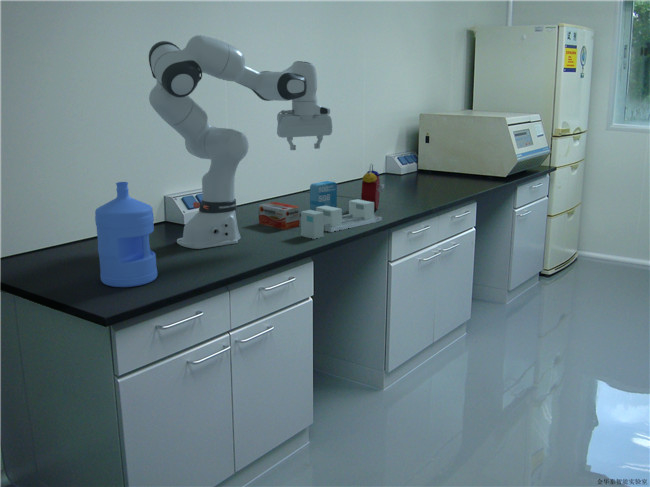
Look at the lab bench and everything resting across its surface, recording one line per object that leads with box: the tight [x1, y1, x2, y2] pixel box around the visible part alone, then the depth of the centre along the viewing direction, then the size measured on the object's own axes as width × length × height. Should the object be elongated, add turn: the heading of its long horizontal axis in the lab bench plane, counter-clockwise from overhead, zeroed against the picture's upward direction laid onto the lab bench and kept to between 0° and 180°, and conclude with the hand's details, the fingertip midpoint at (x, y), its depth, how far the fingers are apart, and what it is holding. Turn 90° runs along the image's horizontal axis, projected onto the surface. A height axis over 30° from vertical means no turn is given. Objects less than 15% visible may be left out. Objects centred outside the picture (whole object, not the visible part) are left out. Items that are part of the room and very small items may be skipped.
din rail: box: [324, 213, 383, 233], centre depth 257 cm, size 28×13×2 cm, turn 134°
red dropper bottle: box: [360, 163, 385, 211], centre depth 280 cm, size 15×9×20 cm, turn 168°
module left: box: [316, 205, 343, 227], centre depth 250 cm, size 5×9×6 cm, turn 44°
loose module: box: [300, 209, 325, 240], centre depth 237 cm, size 5×7×9 cm, turn 44°
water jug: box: [94, 181, 158, 288], centre depth 185 cm, size 16×16×28 cm
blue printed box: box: [309, 180, 338, 211], centre depth 280 cm, size 12×4×12 cm, turn 136°
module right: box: [348, 198, 375, 219], centre depth 262 cm, size 5×9×6 cm, turn 44°
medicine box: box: [258, 201, 301, 231], centre depth 254 cm, size 15×8×8 cm, turn 47°
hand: (305, 149), depth 234 cm, fingers open, 8 cm apart
